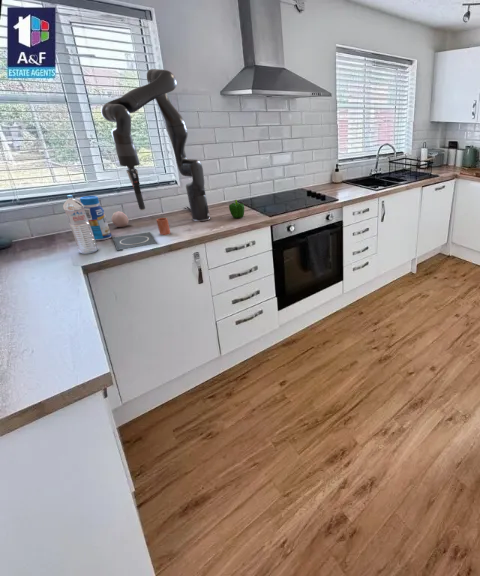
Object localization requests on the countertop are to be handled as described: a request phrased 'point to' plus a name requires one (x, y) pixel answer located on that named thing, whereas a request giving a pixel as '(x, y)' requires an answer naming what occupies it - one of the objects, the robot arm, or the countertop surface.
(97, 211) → the blue lidded canister
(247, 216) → the countertop surface
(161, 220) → the pen pot
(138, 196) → the marker
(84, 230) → the water bottle
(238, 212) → the bell pepper
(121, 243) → the slate board
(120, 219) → the egg
